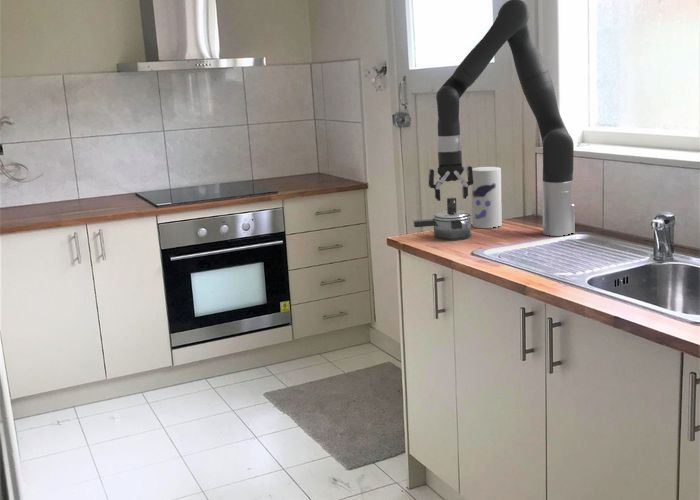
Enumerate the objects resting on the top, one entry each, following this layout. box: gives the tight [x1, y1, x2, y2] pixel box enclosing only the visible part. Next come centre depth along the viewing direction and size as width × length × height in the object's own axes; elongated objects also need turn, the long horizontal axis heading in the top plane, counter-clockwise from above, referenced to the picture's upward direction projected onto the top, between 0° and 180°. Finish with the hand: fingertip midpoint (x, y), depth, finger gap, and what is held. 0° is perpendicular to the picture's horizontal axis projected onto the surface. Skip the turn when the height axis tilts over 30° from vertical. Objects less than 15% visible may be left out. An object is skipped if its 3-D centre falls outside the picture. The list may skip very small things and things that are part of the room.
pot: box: [413, 213, 472, 242], centre depth 254 cm, size 19×14×7 cm
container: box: [471, 166, 503, 229], centre depth 268 cm, size 10×10×20 cm
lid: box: [435, 197, 469, 219], centre depth 254 cm, size 10×10×6 cm
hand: (451, 199), depth 253 cm, fingers open, 8 cm apart
